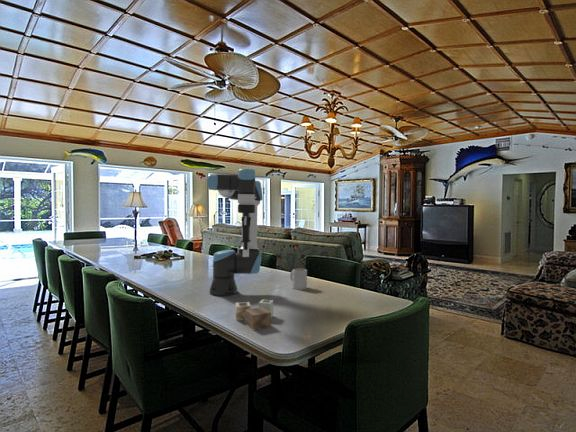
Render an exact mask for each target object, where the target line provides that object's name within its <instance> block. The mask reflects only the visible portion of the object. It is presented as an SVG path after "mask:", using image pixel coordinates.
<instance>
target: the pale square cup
mask: <svg viewBox="0 0 576 432" xmlns="http://www.w3.org/2000/svg"><path fill="white" fill-rule="evenodd" d="M260 307H263V308H265V309H266V310H268V311H270V312H271V319H272V318H273V316H274V300H273V299H261V300H260V301H259V302H258V308H260Z"/></svg>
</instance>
